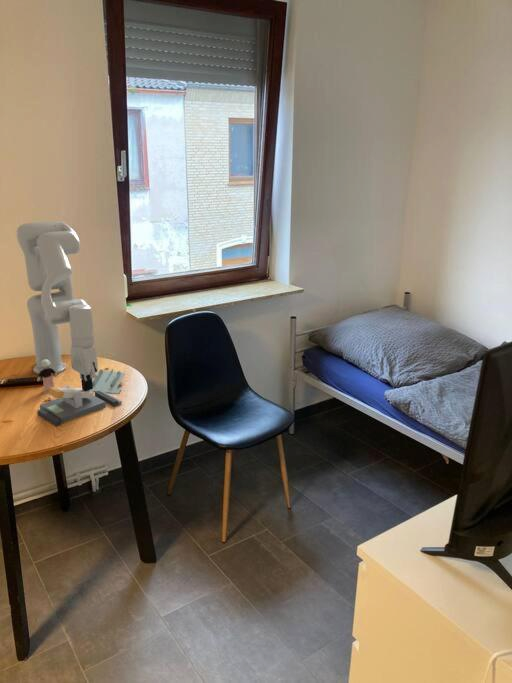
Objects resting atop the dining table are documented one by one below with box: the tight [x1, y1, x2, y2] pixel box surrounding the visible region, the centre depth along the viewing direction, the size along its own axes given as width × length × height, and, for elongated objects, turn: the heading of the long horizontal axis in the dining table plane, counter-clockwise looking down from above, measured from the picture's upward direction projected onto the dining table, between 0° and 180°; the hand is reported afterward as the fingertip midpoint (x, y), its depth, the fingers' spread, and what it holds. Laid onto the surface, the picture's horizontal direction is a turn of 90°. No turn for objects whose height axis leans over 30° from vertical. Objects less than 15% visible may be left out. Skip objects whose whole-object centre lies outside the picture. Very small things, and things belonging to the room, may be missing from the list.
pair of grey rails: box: [37, 391, 123, 428], centre depth 188 cm, size 13×25×2 cm, turn 138°
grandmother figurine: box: [36, 359, 58, 394], centre depth 199 cm, size 8×4×13 cm, turn 147°
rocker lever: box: [47, 386, 95, 399], centre depth 187 cm, size 6×14×2 cm, turn 138°
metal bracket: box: [90, 368, 126, 395], centre depth 207 cm, size 14×6×15 cm
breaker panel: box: [39, 385, 107, 425], centre depth 188 cm, size 14×17×7 cm
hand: (87, 389), depth 191 cm, fingers closed
